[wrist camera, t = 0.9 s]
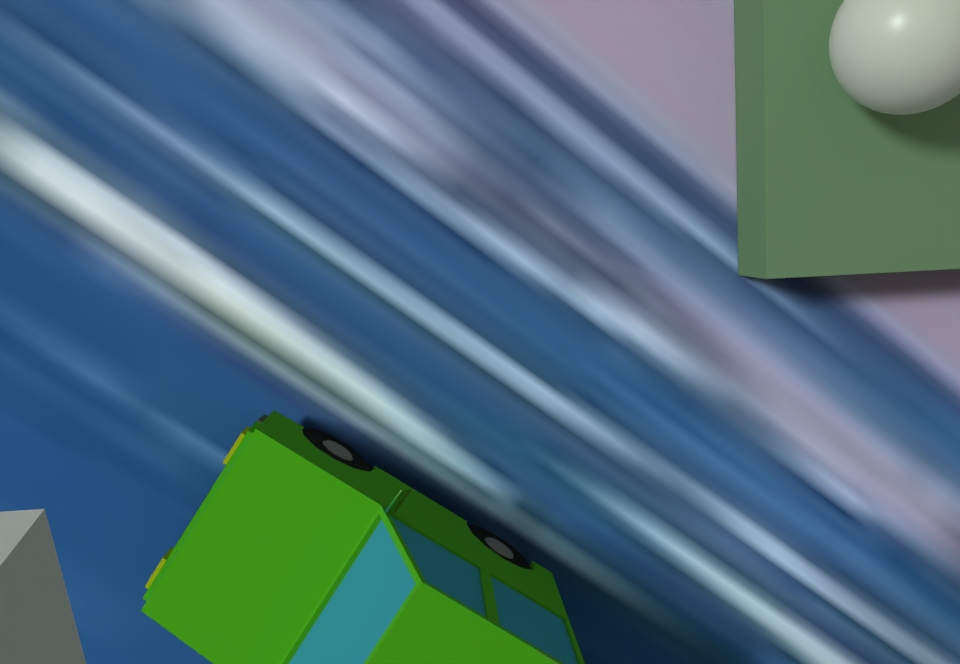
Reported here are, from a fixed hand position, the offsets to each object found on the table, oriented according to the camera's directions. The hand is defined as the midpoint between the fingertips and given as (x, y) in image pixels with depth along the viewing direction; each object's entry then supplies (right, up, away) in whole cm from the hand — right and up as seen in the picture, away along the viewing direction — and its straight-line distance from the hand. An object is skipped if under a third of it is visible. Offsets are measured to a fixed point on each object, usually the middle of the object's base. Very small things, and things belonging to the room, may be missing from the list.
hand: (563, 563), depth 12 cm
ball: (+13, +13, +18) cm, 26 cm away
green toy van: (-6, -6, +25) cm, 26 cm away
